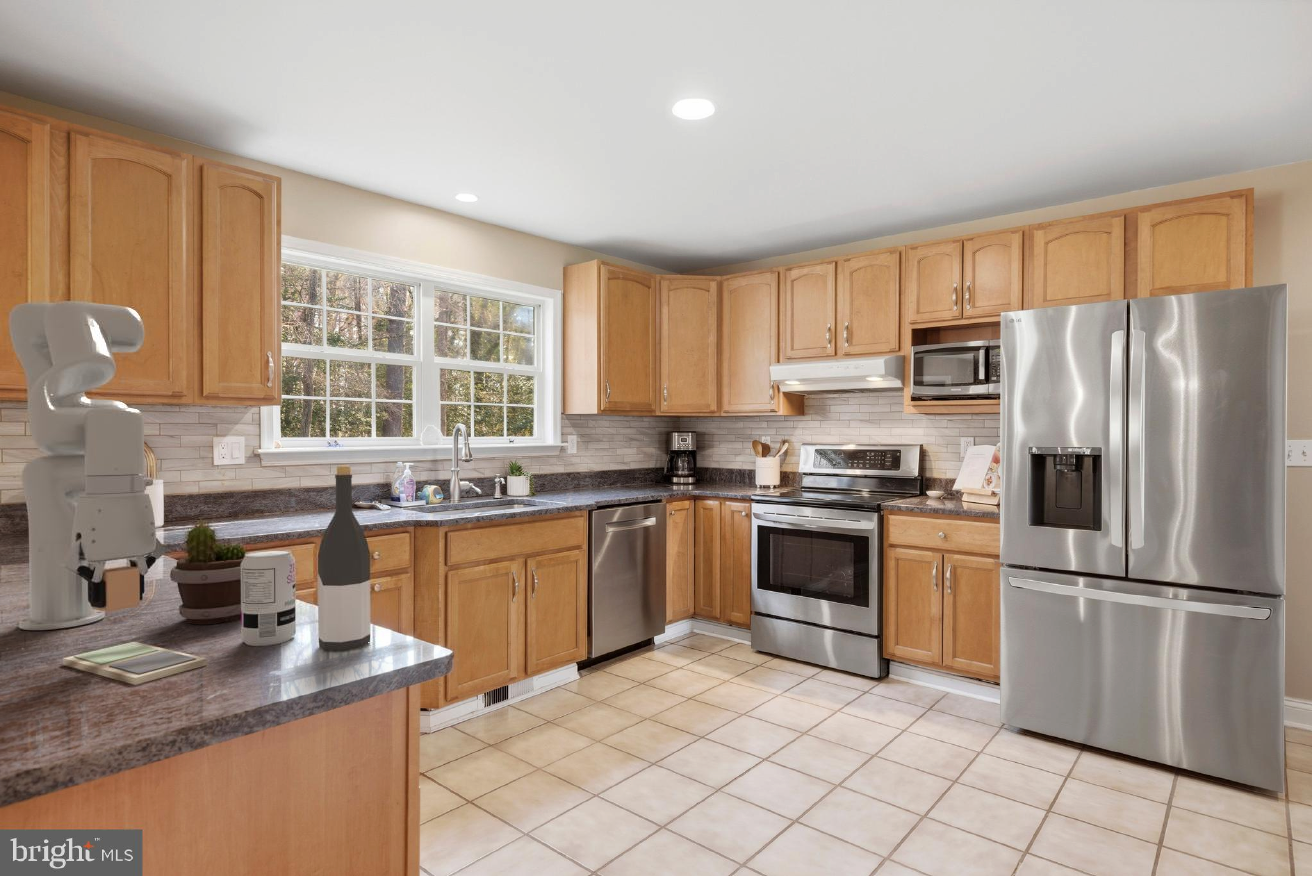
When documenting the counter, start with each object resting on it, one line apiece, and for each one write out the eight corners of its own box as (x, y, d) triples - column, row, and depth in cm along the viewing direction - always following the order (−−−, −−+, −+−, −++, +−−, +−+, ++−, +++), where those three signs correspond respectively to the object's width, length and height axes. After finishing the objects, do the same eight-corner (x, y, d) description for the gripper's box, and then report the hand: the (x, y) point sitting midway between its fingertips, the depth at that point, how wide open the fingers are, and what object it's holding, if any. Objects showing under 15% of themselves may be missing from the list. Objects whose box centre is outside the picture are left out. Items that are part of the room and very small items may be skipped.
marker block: (91, 608, 114) (91, 570, 114) (124, 603, 118) (123, 565, 118) (107, 612, 112) (107, 572, 111) (139, 605, 115) (139, 567, 115)
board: (63, 664, 113) (62, 656, 113) (134, 647, 121) (134, 640, 121) (135, 685, 103) (135, 676, 103) (206, 664, 112) (206, 657, 112)
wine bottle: (368, 649, 120) (367, 466, 120) (314, 653, 118) (313, 467, 117) (372, 636, 128) (371, 464, 127) (322, 640, 125) (321, 465, 125)
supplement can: (234, 640, 125) (233, 553, 125) (285, 631, 131) (284, 547, 131) (251, 650, 120) (250, 558, 120) (303, 639, 126) (302, 552, 126)
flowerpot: (221, 606, 150) (220, 509, 150) (278, 613, 145) (277, 512, 145) (151, 624, 136) (150, 517, 136) (210, 631, 131) (209, 520, 131)
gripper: (159, 483, 124) (160, 591, 124) (38, 489, 109) (39, 612, 109) (185, 483, 120) (186, 595, 120) (64, 490, 105) (65, 617, 105)
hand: (116, 602), depth 114 cm, fingers closed on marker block, 4 cm apart
